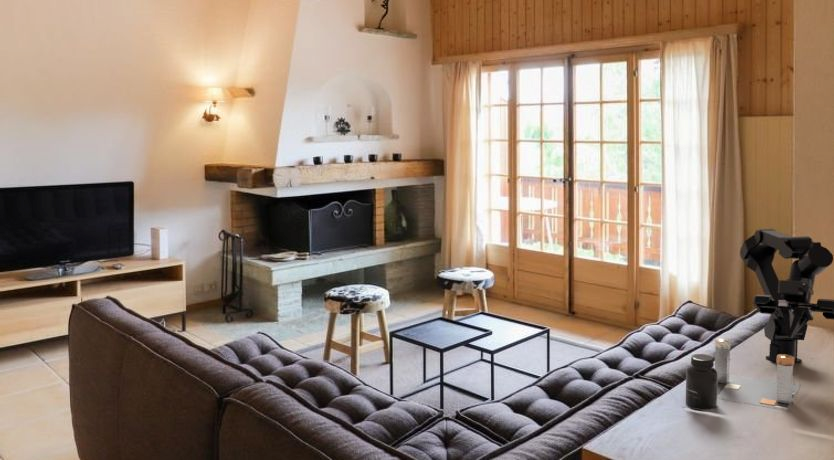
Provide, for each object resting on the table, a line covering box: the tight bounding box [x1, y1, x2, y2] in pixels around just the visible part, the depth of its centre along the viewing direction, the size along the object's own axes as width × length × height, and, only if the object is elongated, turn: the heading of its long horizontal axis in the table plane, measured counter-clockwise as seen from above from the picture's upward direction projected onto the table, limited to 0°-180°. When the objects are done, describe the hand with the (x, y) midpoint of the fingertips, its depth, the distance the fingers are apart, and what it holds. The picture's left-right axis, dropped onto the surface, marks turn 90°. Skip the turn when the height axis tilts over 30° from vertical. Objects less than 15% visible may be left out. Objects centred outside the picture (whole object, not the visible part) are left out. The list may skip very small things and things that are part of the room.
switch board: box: [717, 373, 801, 412], centre depth 171 cm, size 18×18×1 cm
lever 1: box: [714, 337, 732, 384], centre depth 176 cm, size 4×4×11 cm
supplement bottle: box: [685, 353, 718, 412], centre depth 164 cm, size 7×7×12 cm
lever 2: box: [776, 354, 795, 404], centre depth 163 cm, size 4×4×11 cm
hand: (789, 337), depth 173 cm, fingers closed
